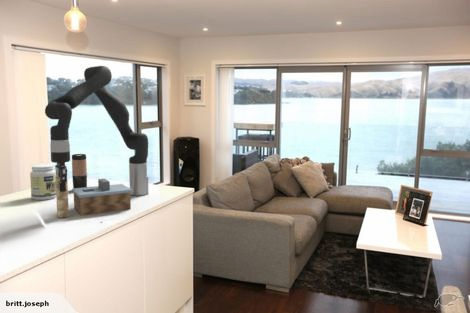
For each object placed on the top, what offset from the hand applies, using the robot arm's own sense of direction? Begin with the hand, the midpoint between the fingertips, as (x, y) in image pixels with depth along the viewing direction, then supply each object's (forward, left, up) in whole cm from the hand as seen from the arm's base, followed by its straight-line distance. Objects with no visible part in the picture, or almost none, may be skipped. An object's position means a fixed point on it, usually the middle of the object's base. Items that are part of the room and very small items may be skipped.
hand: (61, 190), depth 180 cm
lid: (-18, -5, -3) cm, 19 cm away
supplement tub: (+1, -45, -13) cm, 47 cm away
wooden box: (-18, -5, -12) cm, 22 cm away
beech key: (0, 0, -11) cm, 11 cm away
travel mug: (-19, -55, -13) cm, 60 cm away
